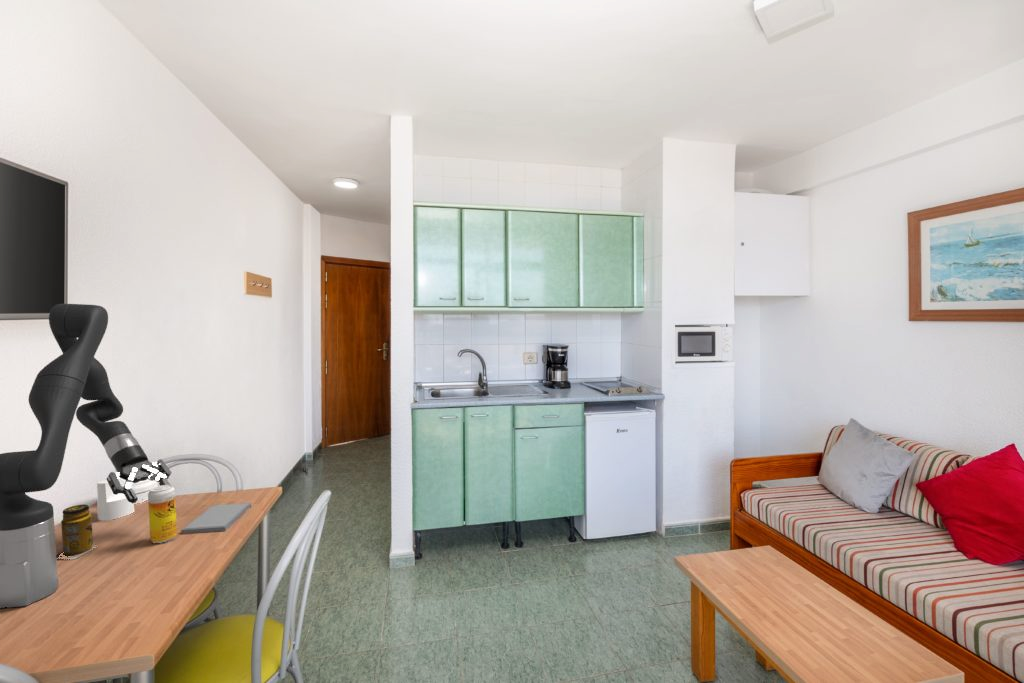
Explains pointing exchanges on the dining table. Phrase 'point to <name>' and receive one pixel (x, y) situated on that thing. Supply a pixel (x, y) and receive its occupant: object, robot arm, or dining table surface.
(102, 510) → the base with upright slab
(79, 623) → the dining table surface
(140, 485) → the honey pot
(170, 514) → the beer can
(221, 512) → the grey flat slab
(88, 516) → the condiment
